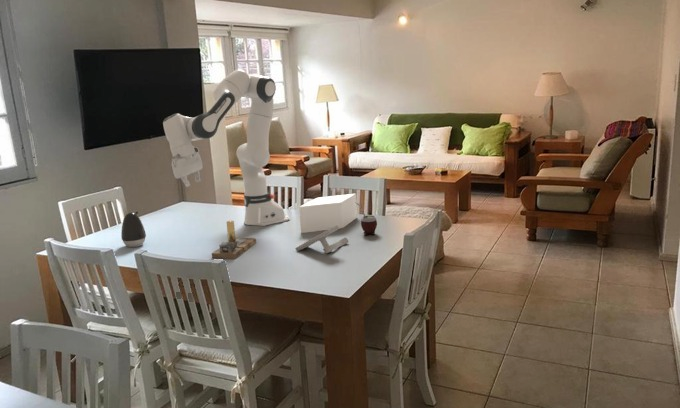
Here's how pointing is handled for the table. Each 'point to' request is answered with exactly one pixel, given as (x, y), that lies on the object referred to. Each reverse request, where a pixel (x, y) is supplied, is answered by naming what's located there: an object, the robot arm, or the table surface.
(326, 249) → the door handle
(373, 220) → the mate gourd
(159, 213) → the table surface
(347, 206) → the block
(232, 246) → the door and jamb
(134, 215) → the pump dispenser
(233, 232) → the bolt
